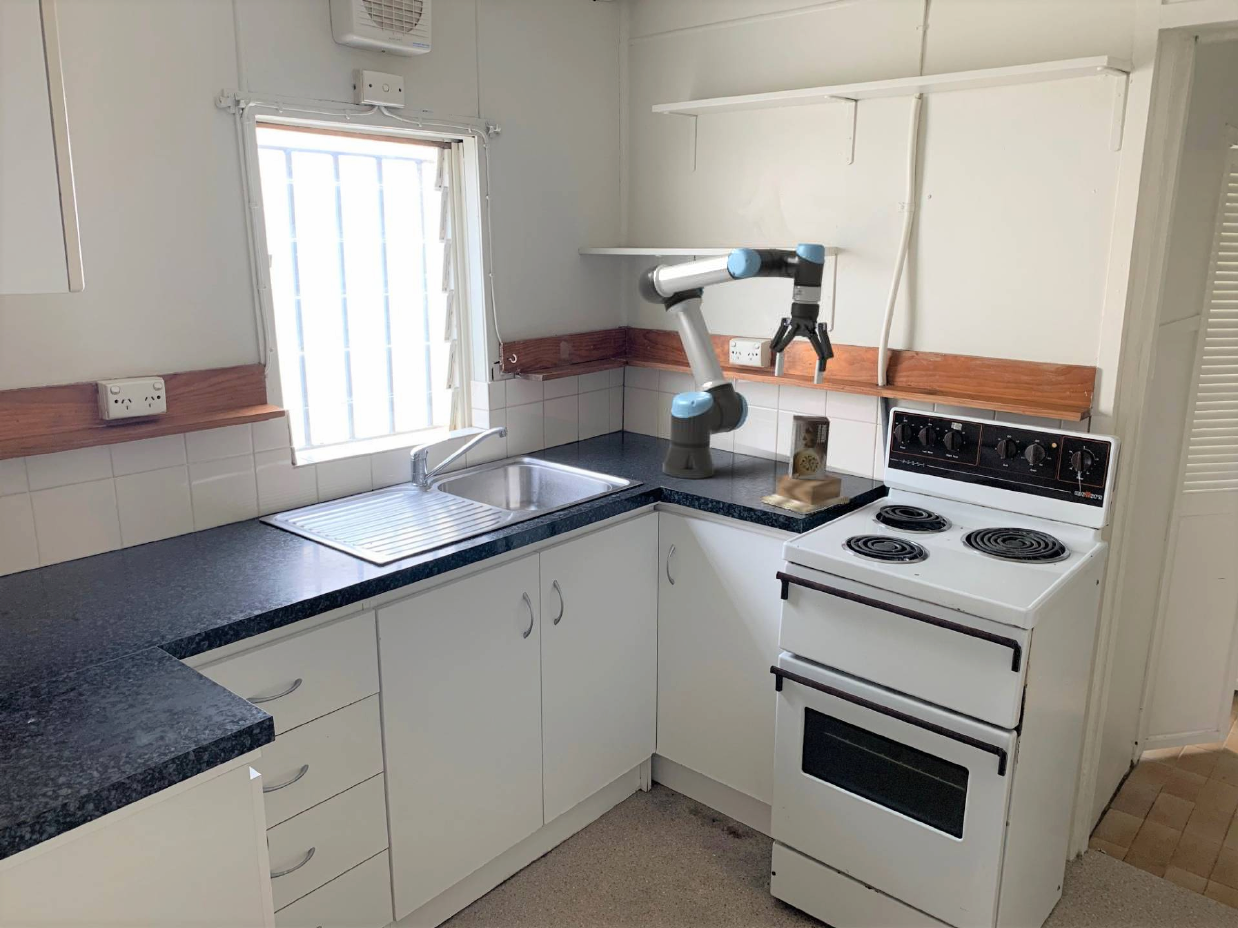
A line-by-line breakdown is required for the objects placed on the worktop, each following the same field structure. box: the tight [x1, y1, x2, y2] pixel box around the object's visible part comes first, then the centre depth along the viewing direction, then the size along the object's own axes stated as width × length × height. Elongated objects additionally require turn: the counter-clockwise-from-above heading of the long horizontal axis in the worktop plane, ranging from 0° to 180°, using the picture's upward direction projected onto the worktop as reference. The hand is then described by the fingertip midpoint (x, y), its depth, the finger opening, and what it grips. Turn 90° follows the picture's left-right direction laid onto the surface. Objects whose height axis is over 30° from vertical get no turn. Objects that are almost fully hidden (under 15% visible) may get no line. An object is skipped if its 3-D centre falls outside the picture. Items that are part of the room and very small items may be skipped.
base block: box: [776, 474, 843, 505], centre depth 245 cm, size 11×13×5 cm
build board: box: [761, 492, 851, 513], centre depth 245 cm, size 14×20×2 cm
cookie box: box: [788, 414, 831, 480], centre depth 243 cm, size 9×6×16 cm
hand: (798, 379), depth 254 cm, fingers open, 13 cm apart
